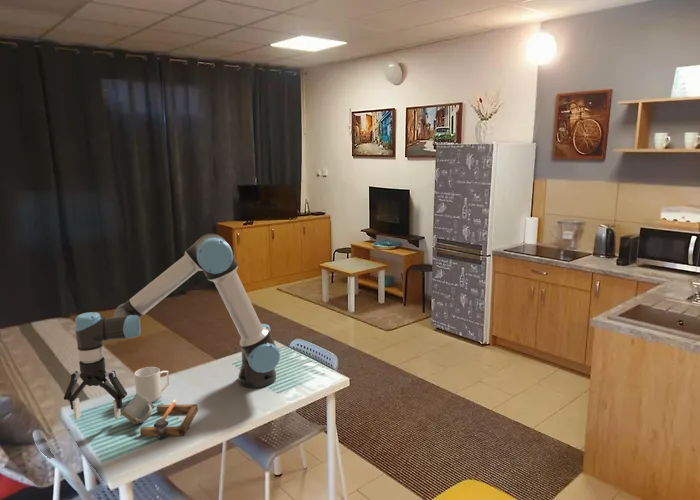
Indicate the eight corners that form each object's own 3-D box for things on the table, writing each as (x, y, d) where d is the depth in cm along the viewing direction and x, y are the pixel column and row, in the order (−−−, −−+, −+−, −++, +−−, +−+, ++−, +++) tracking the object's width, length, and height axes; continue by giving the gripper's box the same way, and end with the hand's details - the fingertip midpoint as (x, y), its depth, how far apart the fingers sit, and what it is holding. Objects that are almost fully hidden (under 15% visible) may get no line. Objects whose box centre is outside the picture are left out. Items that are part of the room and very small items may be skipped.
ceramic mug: (133, 425, 169) (117, 410, 167) (151, 406, 174) (136, 392, 172) (140, 427, 161) (123, 412, 159) (159, 407, 165) (142, 392, 163)
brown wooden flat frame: (197, 410, 176) (197, 404, 176) (183, 435, 160) (183, 428, 159) (158, 411, 176) (158, 404, 175) (140, 436, 159) (140, 429, 159)
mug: (138, 406, 179) (136, 378, 177) (134, 397, 186) (132, 370, 184) (172, 398, 185) (170, 371, 183) (167, 389, 193) (165, 363, 191)
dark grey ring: (171, 434, 160) (170, 420, 160) (166, 442, 156) (165, 427, 155) (157, 434, 160) (156, 420, 160) (152, 442, 156) (151, 428, 155)
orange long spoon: (179, 402, 172) (179, 399, 172) (164, 425, 156) (163, 423, 156) (171, 402, 172) (171, 399, 171) (155, 426, 156) (154, 423, 156)
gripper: (133, 353, 167) (139, 411, 171) (60, 355, 166) (67, 412, 170) (124, 362, 160) (130, 422, 163) (47, 363, 159) (54, 423, 163)
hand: (97, 417), depth 167 cm, fingers open, 13 cm apart
